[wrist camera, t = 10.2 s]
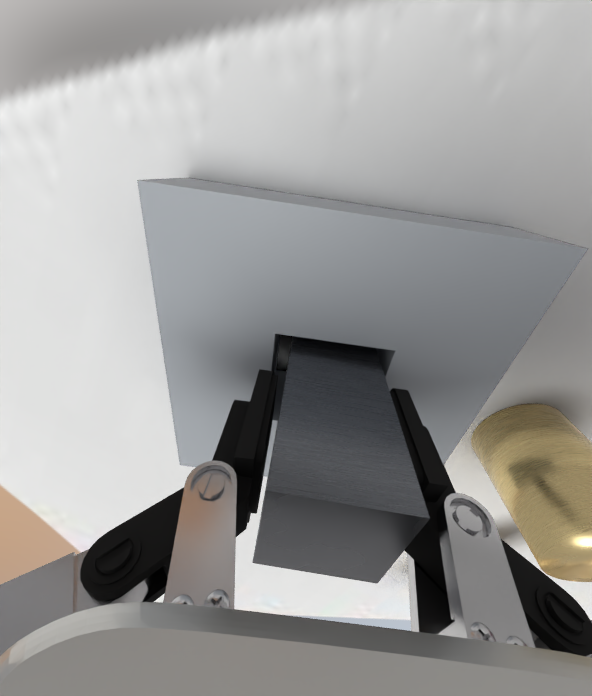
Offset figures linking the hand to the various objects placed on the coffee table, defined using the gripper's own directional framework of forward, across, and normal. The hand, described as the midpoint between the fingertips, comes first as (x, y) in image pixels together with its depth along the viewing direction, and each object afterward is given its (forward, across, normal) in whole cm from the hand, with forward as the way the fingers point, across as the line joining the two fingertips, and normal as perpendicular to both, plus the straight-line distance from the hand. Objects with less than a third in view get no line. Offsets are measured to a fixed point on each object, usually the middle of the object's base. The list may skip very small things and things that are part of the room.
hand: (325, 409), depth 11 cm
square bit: (+5, 0, 0) cm, 5 cm away
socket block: (+5, 0, 0) cm, 5 cm away
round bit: (+5, -14, +5) cm, 16 cm away
